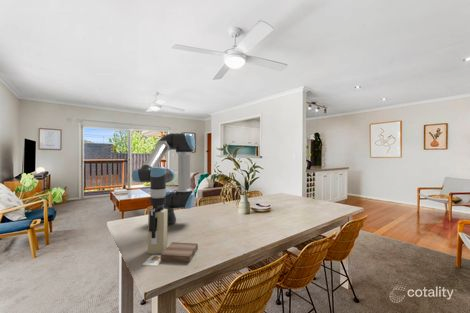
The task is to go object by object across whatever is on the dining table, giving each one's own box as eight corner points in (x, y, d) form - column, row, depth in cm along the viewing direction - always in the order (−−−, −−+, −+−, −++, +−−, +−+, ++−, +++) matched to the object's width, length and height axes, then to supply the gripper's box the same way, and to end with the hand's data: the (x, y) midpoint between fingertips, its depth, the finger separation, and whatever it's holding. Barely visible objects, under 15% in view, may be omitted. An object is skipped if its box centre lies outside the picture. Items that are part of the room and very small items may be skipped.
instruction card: (151, 255, 105) (151, 254, 105) (165, 256, 104) (165, 255, 104) (142, 265, 96) (142, 264, 96) (157, 266, 95) (157, 265, 95)
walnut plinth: (172, 247, 114) (172, 242, 114) (197, 249, 112) (197, 243, 112) (160, 260, 100) (160, 254, 100) (189, 262, 99) (189, 256, 98)
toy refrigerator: (167, 247, 114) (168, 208, 114) (163, 253, 107) (163, 212, 107) (152, 247, 114) (153, 208, 114) (147, 253, 107) (147, 212, 106)
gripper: (159, 192, 120) (159, 233, 121) (140, 200, 100) (140, 248, 101) (172, 193, 120) (172, 233, 120) (155, 201, 100) (155, 249, 100)
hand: (157, 240), depth 110 cm, fingers closed on toy refrigerator, 7 cm apart
